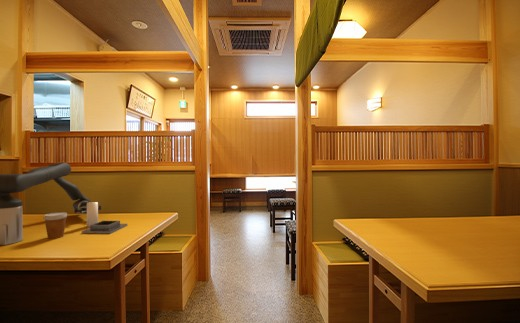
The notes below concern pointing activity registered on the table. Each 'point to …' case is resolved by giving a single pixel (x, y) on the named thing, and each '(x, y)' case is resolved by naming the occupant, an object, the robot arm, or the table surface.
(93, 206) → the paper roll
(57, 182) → the robot arm
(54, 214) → the disposable coffee cup
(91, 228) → the stand
